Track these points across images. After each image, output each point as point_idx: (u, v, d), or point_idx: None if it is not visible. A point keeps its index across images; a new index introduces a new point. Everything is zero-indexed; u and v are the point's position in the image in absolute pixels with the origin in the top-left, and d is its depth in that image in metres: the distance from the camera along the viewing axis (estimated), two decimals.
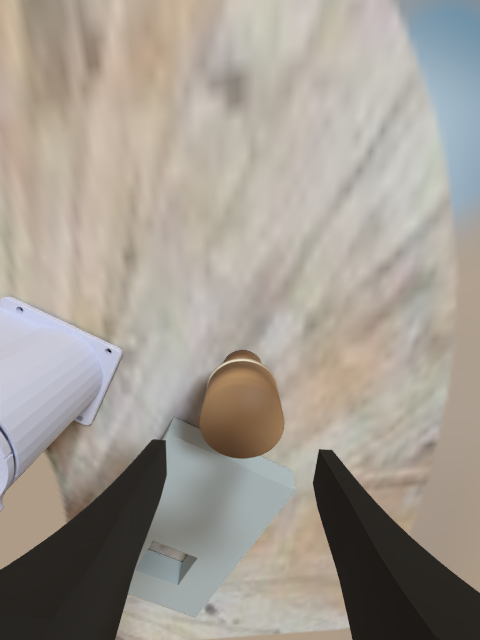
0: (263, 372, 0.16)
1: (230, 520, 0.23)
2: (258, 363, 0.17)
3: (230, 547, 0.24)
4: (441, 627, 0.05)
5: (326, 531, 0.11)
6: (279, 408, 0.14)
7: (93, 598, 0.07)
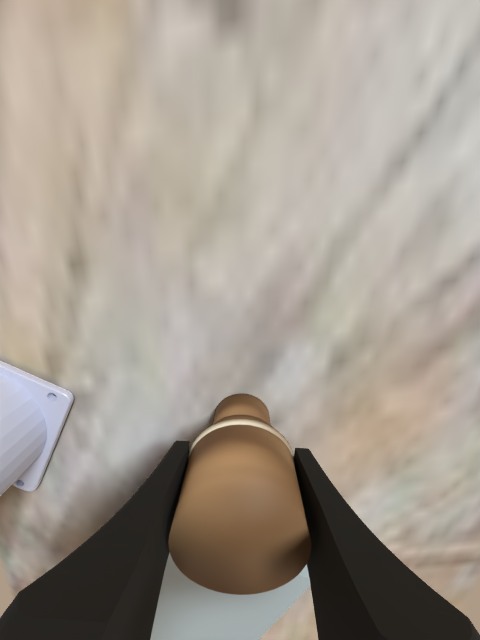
0: (273, 447, 0.10)
1: (225, 616, 0.17)
2: (265, 427, 0.11)
3: None
4: (388, 624, 0.05)
5: None
6: (303, 525, 0.08)
7: (136, 600, 0.07)
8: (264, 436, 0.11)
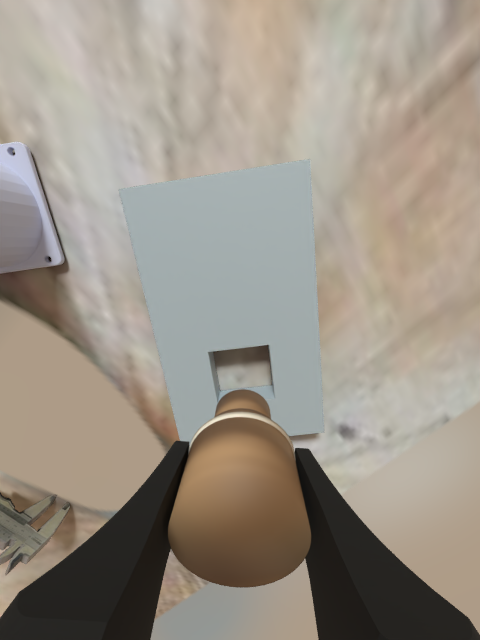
0: (275, 440, 0.10)
1: (267, 264, 0.18)
2: (268, 421, 0.11)
3: (294, 305, 0.18)
4: (388, 624, 0.05)
5: None
6: (304, 517, 0.08)
7: (136, 600, 0.07)
8: (266, 429, 0.11)
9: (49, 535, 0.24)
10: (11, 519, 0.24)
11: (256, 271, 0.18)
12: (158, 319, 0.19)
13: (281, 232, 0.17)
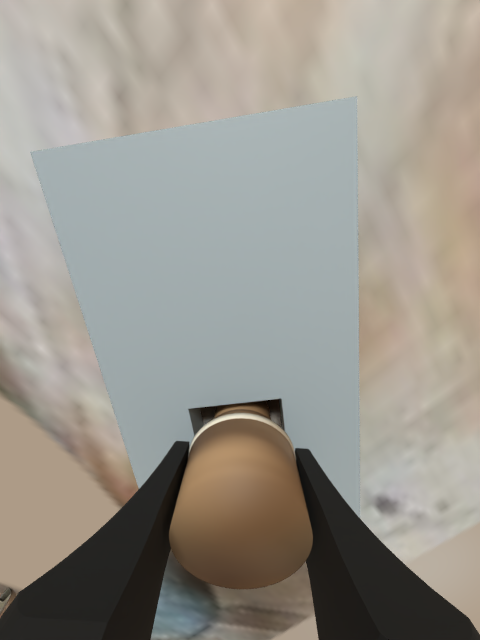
0: (276, 441, 0.10)
1: (279, 277, 0.11)
2: (268, 422, 0.11)
3: (321, 340, 0.12)
4: (388, 624, 0.05)
5: None
6: (306, 519, 0.08)
7: (136, 600, 0.07)
8: (267, 430, 0.11)
9: None
10: None
11: (262, 288, 0.11)
12: (110, 361, 0.12)
13: (304, 225, 0.10)
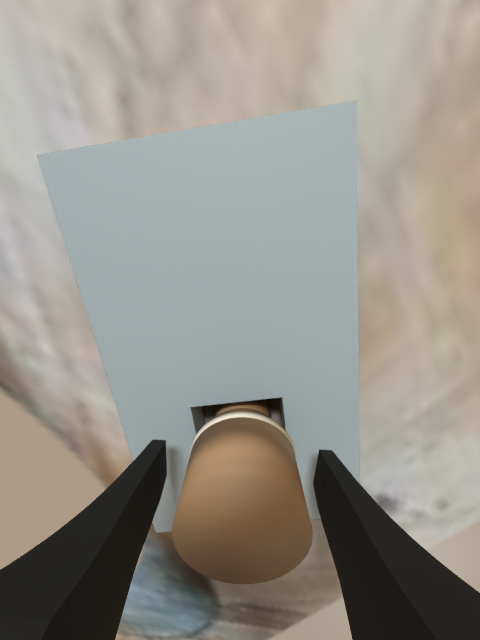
0: (277, 440, 0.11)
1: (280, 278, 0.11)
2: (269, 421, 0.11)
3: (322, 339, 0.12)
4: (441, 627, 0.05)
5: (326, 531, 0.11)
6: (306, 515, 0.09)
7: (93, 598, 0.07)
8: (267, 429, 0.11)
9: None
10: None
11: (263, 288, 0.11)
12: (113, 360, 0.12)
13: (304, 226, 0.11)
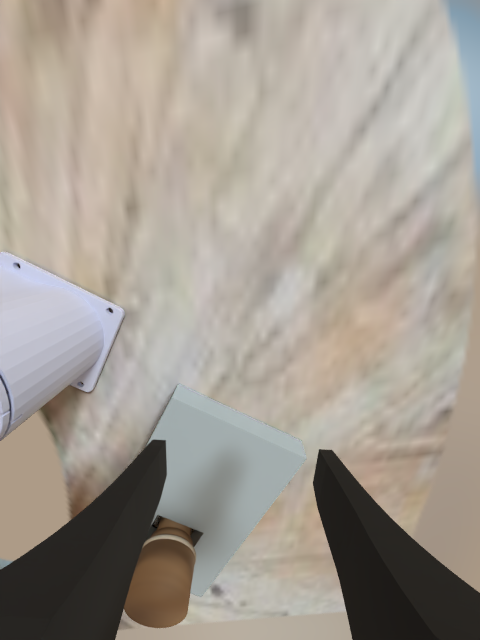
0: (191, 564, 0.22)
1: (237, 492, 0.22)
2: (192, 549, 0.22)
3: (237, 521, 0.23)
4: (441, 627, 0.05)
5: (325, 531, 0.11)
6: (186, 611, 0.20)
7: (93, 598, 0.07)
8: (190, 555, 0.22)
9: None
10: None
11: (228, 491, 0.22)
12: None
13: (260, 482, 0.22)
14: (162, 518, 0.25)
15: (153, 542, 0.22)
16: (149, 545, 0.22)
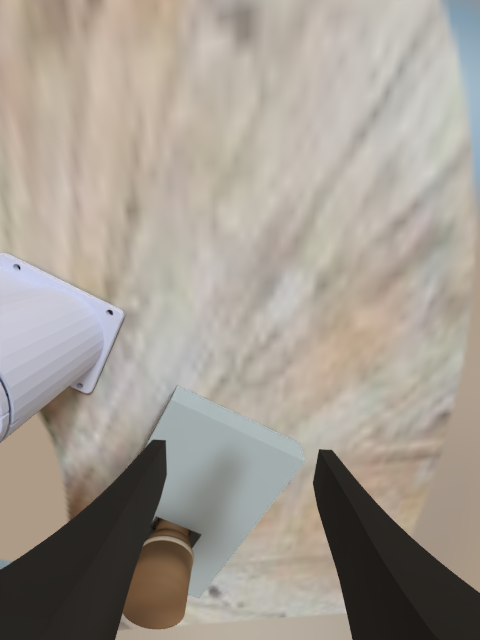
0: (189, 566, 0.22)
1: (236, 494, 0.22)
2: (190, 551, 0.22)
3: (235, 523, 0.23)
4: (441, 627, 0.05)
5: (326, 531, 0.11)
6: (183, 613, 0.20)
7: (93, 598, 0.07)
8: (187, 557, 0.22)
9: None
10: None
11: (226, 493, 0.22)
12: None
13: (258, 484, 0.22)
14: (160, 519, 0.25)
15: (151, 543, 0.22)
16: (147, 546, 0.22)
